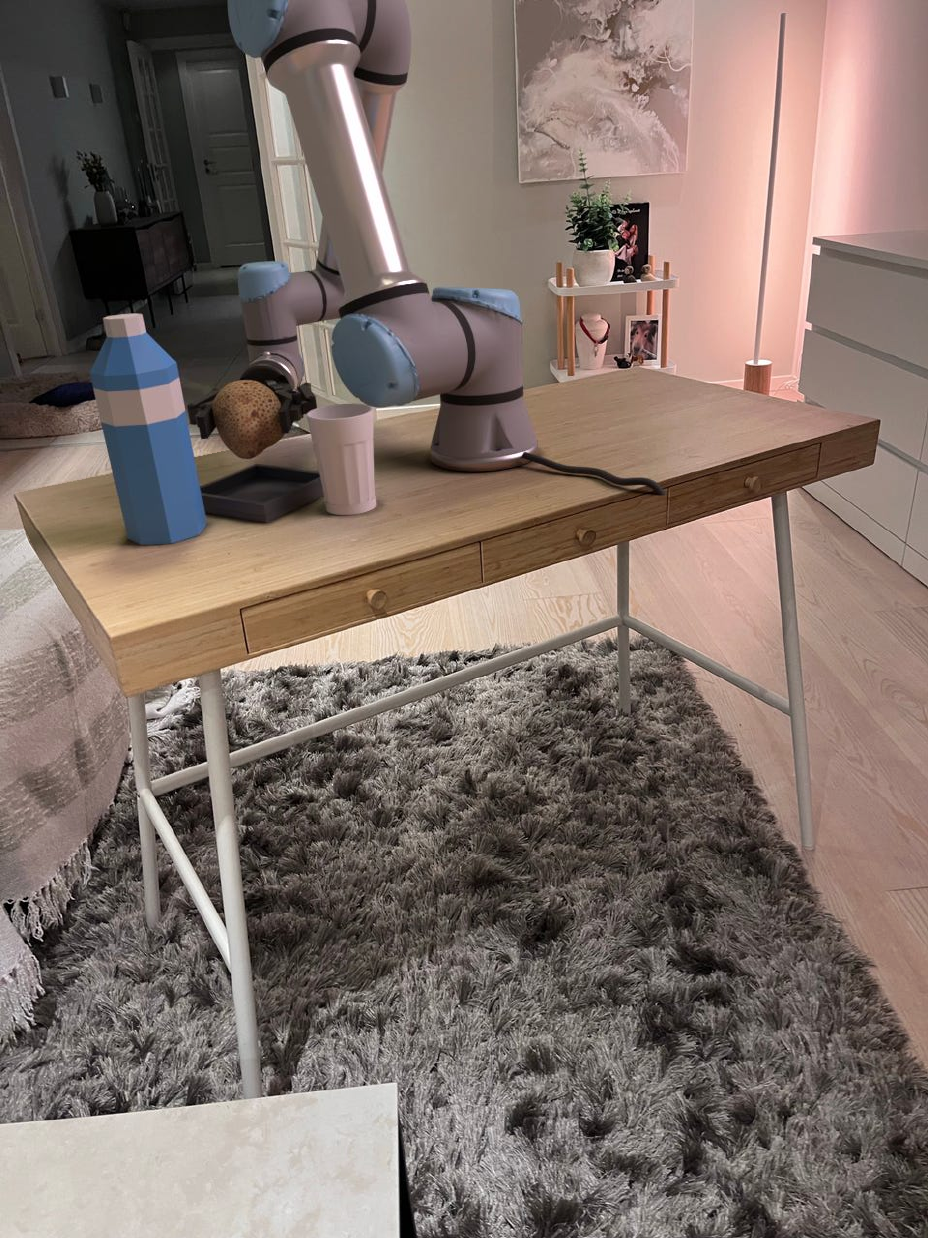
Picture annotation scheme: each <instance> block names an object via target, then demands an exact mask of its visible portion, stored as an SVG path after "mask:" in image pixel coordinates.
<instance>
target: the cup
mask: <svg viewBox="0 0 928 1238" xmlns="http://www.w3.org/2000/svg"><path fill="white" fill-rule="evenodd" d="M306 418H307V423H308V428H309V432H310V436H311V440H312V446H313V449H314V454H315V459H316V464H317V468H318V472H319V474H320V479H321V483H322V488H323V493H324V496H323V497H324V504H325V505H324V506H325V511H326V512H327V513H329V514H332V515H336V516H354V515H360V514H363V513H367V512H370V511H372V510H373V509H375V508H376V507H377V497H376V495H377V494H376V489H375V488H376V487H375V456H374V455H375V454H374V453H375V452H374V451H375V450H374V434H375V433H374V432H375V431H374V427H375V425H374V407H372V406H369V405H366V404H364V403H338V404H331V405H324V406H320V407H317V408H316V409H313V410H311V411H309V412H308V413H307V414H306Z"/></svg>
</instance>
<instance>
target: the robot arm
mask: <svg viewBox="0 0 928 1238" xmlns="http://www.w3.org/2000/svg"><path fill="white" fill-rule="evenodd" d="M227 14H228V22H229V27H230V31H231V34H232V37H233V40H234V43H235V44H236V45H237V47H238V49H239V50H240V51H242V52H243V53H244V54H245V55H247V56H249V57H250V58H252V59H258V58H260V59H261V62H262V66H263V69H264V72H265V76H266V78H267V81H268V83H269V85H270V86H272V87H273V88H274V89H275V90H277V91H279V92H281V93H282V94H284V95H285V98H286V101H287V104H288V107H289V110H290V111H289V112H290V114H291V117H292V121H293V124H294V127H295V131H296V134H297V137H298V141H299V144H300V147H301V151H302V154H303V157H304V160H305V164H306V168H307V171H308V173H309V178H310V181H311V184H312V187H313V189H314V193H315V197H316V200H317V203H318V207H319V210H320V213H321V217H322V219H321V226H320V234H319V243H318V247H317V248H318V249H317V256H316V261H315V268H314V269H311V270H302V271H295V272H293V271H292V272H291V271H290V268H289V265H288V264H287V262H285V261H281V260H269V261H259V262H258V261H257V262H249V263H244V264H242V265H241V266H240V267H239V268H238V270H237V287H238V298H239V301H240V308H241V312H242V318H243V323H244V328H245V334H246V346H247V353H248V359H249V365H248V366H247V368H246V369H245V370H244V371H243V373H241V375H240V376H239V379H238V381H241V380H252V381H257V382H259V383H261V384H263V385H265V386H266V387H268V388H269V389H270V390H272V391H273V392H274V394H275V395H276V396H277V398H278V400H279V401H280V403H281V406H282V407H281V409H280V411H279V414H280V421H281V428H282V434H286V435H287V434H289V433H290V431H291V429H292V427H293V424H294V422H300V421H301V420H302V419H304V418H305V416H304V415H307V413H308V412H309V411H311V410H313V409H316V408H318V402H317V396H316V394H315V393H314V392H313V389H312V383H311V382H304V383H302V382H303V377H305V365H304V360H303V357H302V355H301V354H300V348H299V340H298V339H299V337H298V330H297V329H298V328H297V327H299V326H304V325H305V326H306V325H310V324H314V323H320V322H325V321H333V320H338V321H337V323H336V324H335V326H334V327H333V330H332V333H331V342H332V343H333V344H332V345H331V347H330V349H331V356H332V360H333V364H334V366H335V369H336V372H337V374H338V377H339V378H340V380H341V381H342V384H343V385H344V386H345V388H346V389H347V390H348V391H349V393H350V394H351V395H352V396H353V397H354V398H356V399H359V401H360V402H361V403H362V404H364V405H369V406H371V407H373V408H376V409H377V408H379V409H381V408H383V409H384V408H389V407H394V406H398V407H403V406H405V405H407V404H408V405H409V404H410V403H413V402H415V401H420V400H423V399H427V398H432V397H435V396H438V395H439V404H440V405H439V411H438V414H437V419H436V423H435V427H434V431H433V435H432V440H431V445H430V458H431V462H432V463H433V464H434V465H436V466H438V467H440V468H443V469H446V470H452V471H460V472H490V471H499V470H507V469H511V468H515V467H519V466H523V465H525V464H528V463H530V462H532V463H535V464H538V465H542V466H544V467H547V468H550V469H552V470H554V471H556V472H561V473H567V474H574V475H589V476H596V477H599V478H601V479H603V480H606V481H607V482H609V483H611V484H613V485H617V486H622V487H630V486H631V487H632V486H645V487H648V488H649V489H651V490H652V491H654V493H655V494H656V495H658V496H667V493H666V491H665V490H664V488H663V487H662V486H661V485H660V484H659V483H658V482H656V481H655V480H653V479H651V478H649V477H648V478H647V477H641V476H640V477H638V476H637V477H636V476H635V477H620V476H617V475H614V474H612V473H610V472H609V471H607V470H604V469H601V468H596V467H589V466H575V465H565V464H562V463H559V462H556V461H553V460H551V459H548V458H546V457H543V456H539V440H538V437H537V434H536V431H535V429H534V425H533V422H532V420H531V418H530V415H529V412H528V409H527V406H526V404H525V403H526V402H525V401H524V400H525V399H524V376H523V375H524V367H523V365H524V364H523V362H524V361H523V327H522V326H523V319H522V315H521V314H522V313H521V303H520V299H519V297H518V295H517V294H516V293H515V292H514V291H513V290H511V289H504V288H489V287H488V288H487V287H486V288H484V287H461V286H437V287H435V288H434V289H433V290H432V295H431V293H430V290H429V286H428V283H427V281H426V280H425V279H423V278H422V277H420V276H418V275H417V274H414V273H413V272H412V271H411V268H410V265H409V261H408V258H407V254H406V251H405V248H404V244H403V240H402V237H401V234H400V229H399V226H398V223H397V220H396V215H395V213H394V209H393V205H392V201H391V199H390V196H389V191H388V188H387V185H386V181H385V178H384V174H383V173H384V172H383V171H384V167H385V161H386V157H387V149H388V145H389V140H390V139H389V138H390V133H391V128H392V122H393V116H394V110H395V105H396V99H397V93H398V91H399V90H401V89H403V88H404V87H406V85H407V82H408V75H409V70H410V65H411V57H412V56H411V55H412V31H411V23H410V15H409V10H408V6H407V2H406V0H227ZM339 319H340V320H339ZM221 390H222V389H220V388H217V387H213V388H212V389H210V391H209V392H207V393H206V394H204V395H203V396H200V397H198V398H197V399H195V400H193V401H191V402H190V403H188V404H186V409H187V414H188V420H189V424H190V425H191V426H196V427H197V428H199V434H200V439H201V440H208V439H209V437H210V436H211V435H212V434H213V432H214V431H215V429H217V427H216V425H215V421H214V418H213V413H212V405H213V401H214V399H215V397H216V395H217V394H218V393H219V391H221Z"/></svg>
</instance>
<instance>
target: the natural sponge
mask: <svg viewBox="0 0 928 1238" xmlns="http://www.w3.org/2000/svg"><path fill="white" fill-rule="evenodd" d="M220 390H221V391H219V393H218V394H217V395H216V397H215V399H214V401H213V405H212V413H213V418H214V421H215V425H216V430H217V433H218V435H219V437H220V439H221V440H222V442H223V444H224V445H225V446H226V447H227V449H228V450H229V451H230V452H231V453H232V454H234V455H235V456H236V457H237V458H240V459H243V460H252V459H255V458H257V457H258V456H259V455H261V454H262V453H263V452H264V450H266V449H268V448H269V447H272V446H274V445H276V444H277V443H279V442H280V441H281V440H282V439H283V438H284V436H285V434H282V428H281V421H280V414H279V411H280V409H281V407H282V406H281V403H280V401H279V400H278V398H277V396H276V395H275V394H274V392H273V391H272V390H270V389H269V388H268V387H266V386H265V385H263V384H261V383H259V382H257V381H252V380H241V381H239V380H235V381H232V382H229V383H227V384H226V385H225V386H223V387H222V389H220Z"/></svg>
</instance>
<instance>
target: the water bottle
mask: <svg viewBox="0 0 928 1238" xmlns="http://www.w3.org/2000/svg"><path fill="white" fill-rule="evenodd" d="M102 321H103V325H104V329H105V335H106V337H105V340H104V342H103V345H102V346H101V348H100V350H99V353H98V355H97V356H96V359H95V361H94V363H93V365H92V367H91V369H90V372H89V376H90V381H91V385H92V389H93V394H94V397H95V403H96V407H97V410H98V416H99V420H100V424H101V428H102V433H103V437H104V442H105V445H106V450H107V455H108V459H109V463H110V468H111V471H112V477H113V480H114V486H115V490H116V494H117V498H118V503H119V507H120V512H121V516H122V521H123V524H124V528H125V532H126V537H127V540H130V541H132V542H134V543H136V544H138V545H140V546H150V545H152V546H153V545H169V544H170V545H172V544H175V543H179V542H181V541H185V540H188V539H190V538H194V537H197V536H200V534H201V533H202V532H203V531H204V529H205V528H206V527H207V525H208V523H207V517H206V513H205V511H204V506H203V501H202V495H201V490H200V486H201V485H200V480H199V475H198V469H197V465H196V459H195V454H194V448H193V444H192V438H191V431H190V428H189V423H188V422H189V421H188V417H187V412H186V407H185V400H184V395H183V391H182V386H181V380H180V375H179V370H178V364H177V362H176V360H175V359H173V358H172V356H171V355H170V354H169V353H167V352H166V350H165V349H164V348H162V347H161V346H160V344H158V343H157V342H156V341H155V339H154V338H152V336H151V335H150V334H148V333H147V330H146V325H145V320H144V315H143V313H136V312H135V313H122V314H121V313H120V314H115V315H114V314H113V315H107V316H106V317H105V316H104V317H103V318H102Z"/></svg>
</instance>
